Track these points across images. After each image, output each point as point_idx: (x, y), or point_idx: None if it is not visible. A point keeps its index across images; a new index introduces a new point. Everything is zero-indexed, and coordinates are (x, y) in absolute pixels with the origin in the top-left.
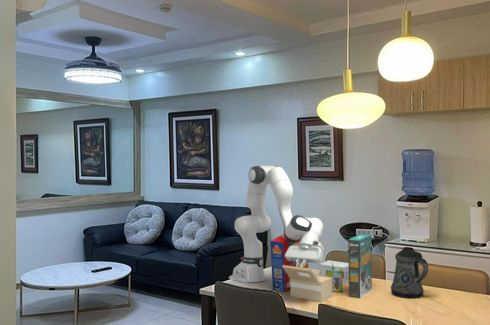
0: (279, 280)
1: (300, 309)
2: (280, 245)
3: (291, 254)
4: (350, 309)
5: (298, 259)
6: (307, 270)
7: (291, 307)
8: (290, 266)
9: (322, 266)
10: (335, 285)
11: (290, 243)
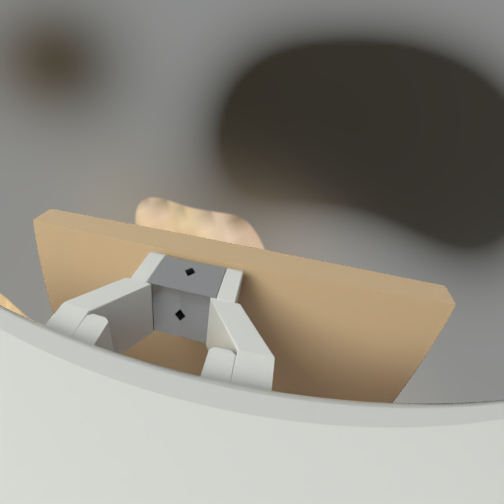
0: None
1: (193, 212)
2: None
3: (467, 462)
4: (9, 301)
5: (217, 372)
6: (74, 214)
7: (245, 224)
8: (341, 279)
9: None
10: None
11: None
